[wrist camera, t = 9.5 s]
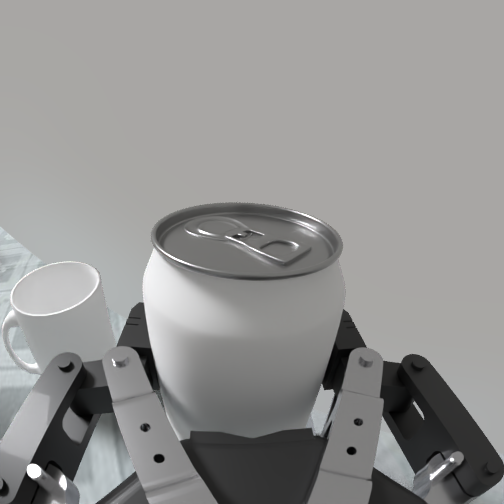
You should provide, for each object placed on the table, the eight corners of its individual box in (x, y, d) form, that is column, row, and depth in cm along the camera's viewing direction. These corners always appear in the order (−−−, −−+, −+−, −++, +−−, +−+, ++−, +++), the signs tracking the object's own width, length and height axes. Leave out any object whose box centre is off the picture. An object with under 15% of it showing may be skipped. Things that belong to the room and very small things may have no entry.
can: (229, 381, 18) (236, 191, 13) (316, 432, 14) (382, 231, 9) (151, 439, 13) (97, 228, 8) (245, 514, 10) (278, 329, 5)
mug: (140, 379, 28) (119, 288, 23) (51, 431, 20) (-4, 344, 15) (98, 335, 33) (78, 252, 28) (22, 374, 25) (-17, 290, 20)
